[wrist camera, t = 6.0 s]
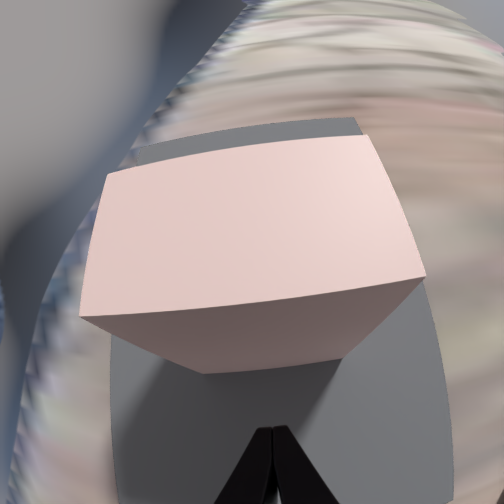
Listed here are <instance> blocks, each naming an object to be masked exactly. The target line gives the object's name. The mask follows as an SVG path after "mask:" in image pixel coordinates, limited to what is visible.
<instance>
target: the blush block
mask: <svg viewBox="0 0 504 504" xmlns="http://www.w3.org/2000/svg"><path fill="white" fill-rule="evenodd" d="M425 277H426V273H425V270H424V267H423V264H422V261H421V258H420V255H419V252H418V249H417V246H416V243H415V241H414V238H413V235H412V232H411V230H410V227H409V225H408V222H407V219H406V217H405V214H404V212H403V210H402V207H401V205H400V202H399V200H398V198H397V195H396V193H395V191H394V188H393V186H392V184H391V182H390V180H389V177H388V175H387V173H386V171H385V169H384V167H383V165H382V163H381V160H380V158H379V156H378V154H377V152H376V150H375V148H374V146H373V145H372V143H371V141H370V139H369V137H368V135H354V136H336V137H322V138H309V139H298V140H289V141H279V142H271V143H263V144H255V145H248V146H241V147H234V148H228V149H222V150H216V151H210V152H204V153H199V154H193V155H188V156H183V157H178V158H173V159H168V160H164V161H159V162H155V163H150V164H146V165H142V166H137V167H133V168H129V169H125V170H121V171H117V172H114V173H110V174H108V175H107V178H106V182H105V185H104V189H103V192H102V196H101V200H100V204H99V208H98V212H97V216H96V220H95V224H94V229H93V233H92V238H91V243H90V248H89V253H88V258H87V264H86V269H85V275H84V282H83V288H82V296H81V303H80V311H79V317H81V318H83V319H84V320H86V321H88V322H90V323H92V324H94V325H96V326H97V327H99V328H101V329H103V330H105V331H107V332H109V333H111V334H113V335H115V336H117V337H119V338H121V339H123V340H125V341H127V342H129V343H131V344H133V345H136V346H138V347H140V348H142V349H144V350H146V351H149V352H151V353H153V354H155V355H158V356H160V357H162V358H165V359H167V360H169V361H172V362H174V363H176V364H179V365H181V366H184V367H186V368H189V369H191V370H194V371H196V372H199V373H202V374H211V373H227V372H241V371H252V370H262V369H272V368H281V367H289V366H296V365H304V364H310V363H317V362H323V361H330V360H335V359H341V358H343V357H345V356H346V355H347V354H348V353H349V352H350V351H351V350H353V349H354V348H355V347H356V346H357V345H358V344H359V343H360V342H362V341H363V340H364V339H365V338H366V337H367V336H368V335H369V334H370V333H371V332H372V331H373V330H374V329H376V328H377V327H378V326H379V325H380V324H381V323H382V322H383V321H384V320H385V319H386V318H387V317H388V316H389V315H390V314H391V313H392V312H393V311H394V310H395V309H396V308H397V307H398V306H399V305H400V304H401V303H402V302H403V301H404V300H405V299H406V298H407V297H408V296H409V294H410V293H411V292H412V291H413V290H414V289H415V288H416V287H417V286H418V285H419V284H420V283H421V281H422V280H423V279H424V278H425Z"/></svg>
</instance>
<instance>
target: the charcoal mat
mask: <svg viewBox="0 0 504 504" xmlns="http://www.w3.org/2000/svg"><path fill="white" fill-rule="evenodd" d="M354 135H363V134H362V132H361V130H360V128H359V126H358V124H357V122H356V121H355V119H354V117H350V118H328V119H313V120H301V121H290V122H280V123H271V124H263V125H255V126H248V127H241V128H234V129H228V130H222V131H216V132H210V133H205V134H199V135H194V136H189V137H184V138H179V139H175V140H170V141H166V142H161V143H157V144H153V145H149V146H145V147H141V149H140V153H139V157H138V161H137V165H136V167H137V166H142V165H146V164H150V163H155V162H159V161H164V160H168V159H173V158H178V157H183V156H188V155H193V154H199V153H204V152H210V151H216V150H222V149H228V148H234V147H241V146H248V145H255V144H263V143H271V142H279V141H289V140H298V139H309V138H322V137H336V136H354ZM110 406H111V430H112V446H113V457H114V467H115V476H116V484H117V492H118V498H119V504H213V503H214V501H215V500H216V498H217V497H218V495H219V493H220V492H221V490H222V488H223V487H224V485H225V483H226V482H227V480H228V478H229V477H230V475H231V473H232V472H233V470H234V468H235V466H236V465H237V463H238V461H239V459H240V458H241V456H242V454H243V452H244V450H245V449H246V447H247V445H248V443H249V441H250V440H251V438H252V436H253V434H254V432H255V430H256V429H257V428H258V427H268V426H270V427H272V428H273V427H274V426H278V425H287V426H288V427H289V428H290V430H291V431H292V433H293V435H294V436H295V438H296V439H297V441H298V442H299V444H300V445H301V447H302V449H303V450H304V452H305V453H306V455H307V456H308V458H309V459H310V461H311V462H312V464H313V465H314V467H315V468H316V470H317V471H318V473H319V474H320V476H321V477H322V479H323V480H324V482H325V483H326V485H327V486H328V488H329V489H330V490H331V492H332V493H333V495H334V496H335V498H336V499H337V501H338V502H339V503H340V504H446V503H448V502H450V501H452V500H453V492H454V467H453V443H452V430H451V419H450V410H449V402H448V394H447V387H446V381H445V375H444V369H443V363H442V358H441V353H440V348H439V343H438V339H437V334H436V330H435V326H434V321H433V317H432V313H431V310H430V306H429V302H428V298H427V295H426V291H425V288H424V284H423V281H421V283H420V284H419V285H418V286H417V287H416V288H415V289H414V290H413V291H412V292H411V293H410V294H409V296H408V297H407V298H406V299H405V300H404V301H403V302H402V303H401V304H400V305H399V306H398V307H397V308H396V309H395V310H394V311H393V312H392V313H391V314H390V315H389V316H388V317H387V318H386V319H385V320H384V321H383V322H382V323H381V324H380V325H379V326H378V327H377V328H376V329H374V330H373V331H372V332H371V333H370V334H369V335H368V336H367V337H366V338H365V339H364V340H363V341H362V342H360V343H359V344H358V345H357V346H356V347H355V348H354V349H353V350H351V351H350V352H349V353H348V354H347V355H346V356H345V357H343V358H341V359H335V360H330V361H323V362H317V363H310V364H304V365H296V366H289V367H281V368H272V369H262V370H252V371H241V372H227V373H211V374H202V373H199V372H196V371H194V370H191V369H189V368H186V367H184V366H181V365H179V364H176V363H174V362H172V361H169V360H167V359H165V358H162V357H160V356H158V355H155V354H153V353H151V352H149V351H146V350H144V349H142V348H140V347H138V346H136V345H133V344H131V343H129V342H127V341H125V340H123V339H121V338H119V337H117V336H115V335H113V334H112V336H111V361H110ZM277 504H281V500H280V496H279V491H278V503H277Z"/></svg>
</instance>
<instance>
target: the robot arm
mask: <svg viewBox="0 0 504 504" xmlns="http://www.w3.org/2000/svg"><path fill="white" fill-rule="evenodd" d="M278 491H279V496H280V500H281V504H340V503H339V502H338V501H337V499H336V498H335V496H334V495H333V493H332V492H331V490H330V489H329V488H328V486H327V485H326V483H325V482H324V480H323V479H322V477H321V476H320V474H319V473H318V471H317V470H316V468H315V467H314V465H313V464H312V462H311V461H310V459H309V458H308V456H307V455H306V453H305V452H304V450H303V449H302V447H301V445H300V444H299V442H298V441H297V439H296V438H295V436H294V435H293V433H292V431H291V430H290V428H289V427H288V426H287V425H278V426H274V427H273V428H272V427H270V426H268V427H258V428H257V429H256V430H255V432H254V434H253V436H252V438H251V440H250V441H249V443H248V445H247V447H246V449H245V450H244V452H243V454H242V456H241V458H240V459H239V461H238V463H237V465H236V466H235V468H234V470H233V472H232V473H231V475H230V477H229V478H228V480H227V482H226V483H225V485H224V487H223V488H222V490H221V492H220V493H219V495H218V497H217V498H216V500H215V501H214V503H213V504H277V503H278Z"/></svg>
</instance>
